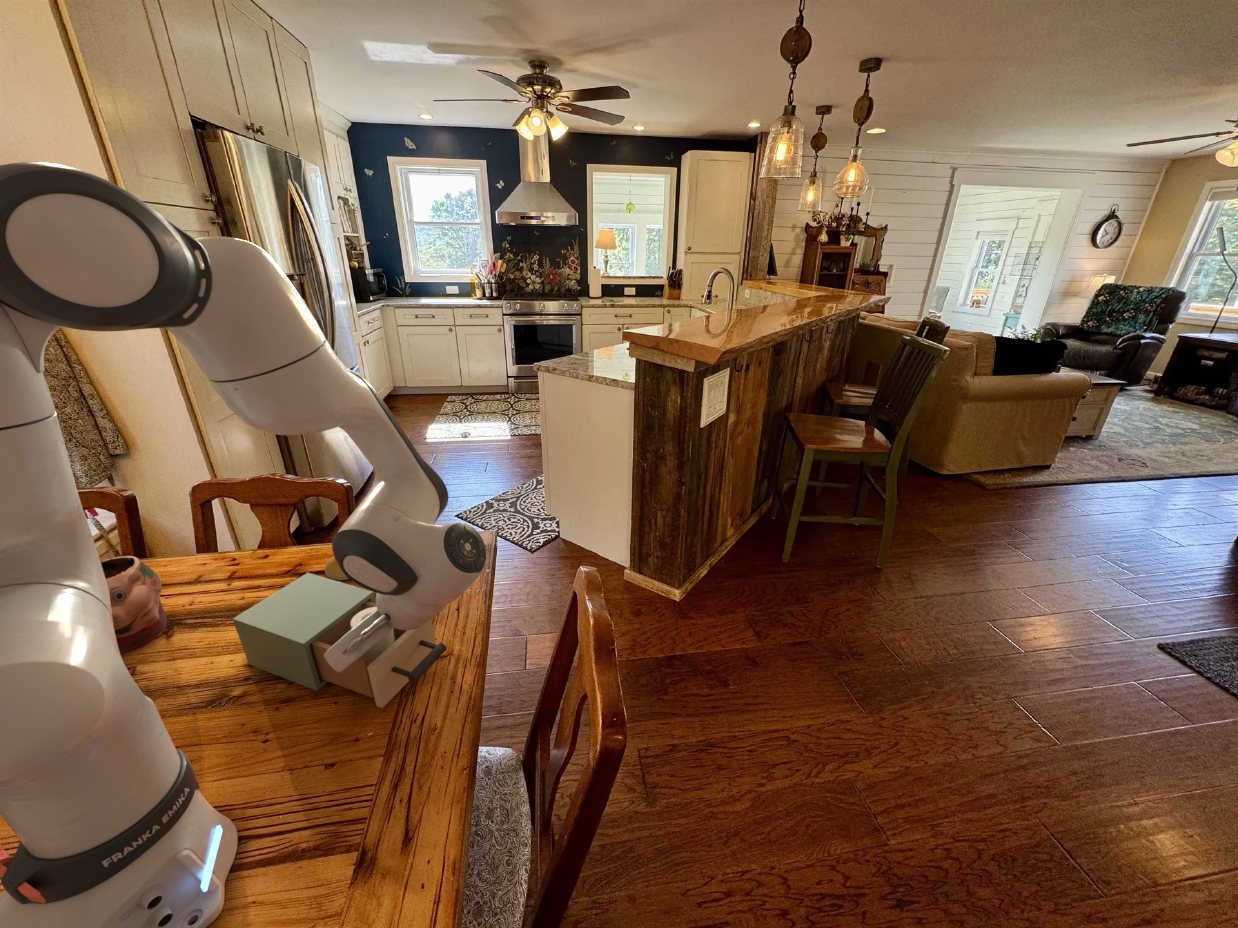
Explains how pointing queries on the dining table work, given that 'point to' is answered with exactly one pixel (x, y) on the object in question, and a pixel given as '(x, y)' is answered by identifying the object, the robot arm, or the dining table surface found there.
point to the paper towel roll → (381, 644)
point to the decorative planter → (134, 601)
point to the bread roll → (334, 570)
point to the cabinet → (296, 625)
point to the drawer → (380, 660)
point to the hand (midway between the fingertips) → (370, 632)
